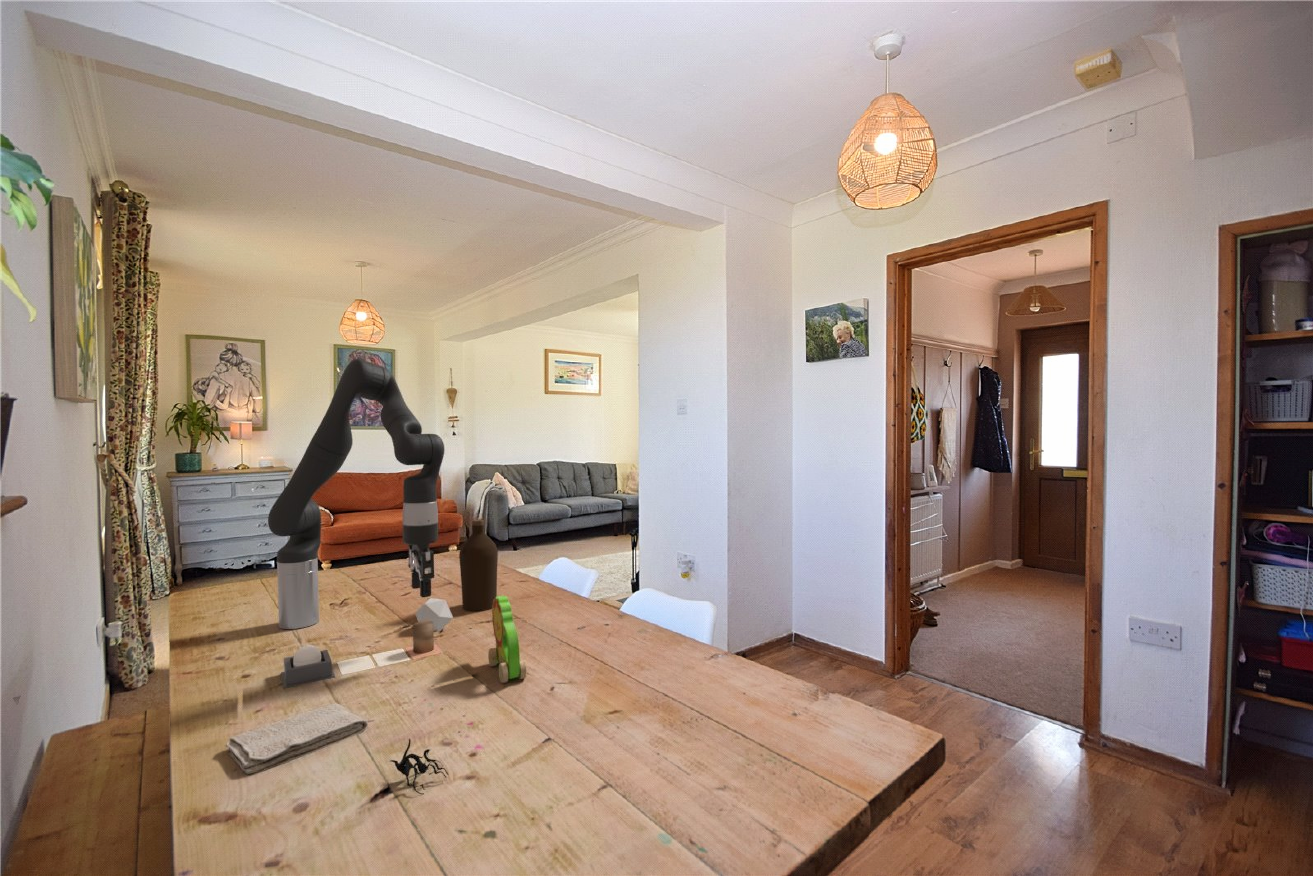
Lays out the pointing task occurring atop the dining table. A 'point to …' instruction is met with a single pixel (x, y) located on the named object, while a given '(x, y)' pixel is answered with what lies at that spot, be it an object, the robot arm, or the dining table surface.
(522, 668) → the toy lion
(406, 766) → the creature
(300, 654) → the dome
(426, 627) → the brown cylinder
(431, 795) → the dining table surface
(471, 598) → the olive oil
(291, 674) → the button base
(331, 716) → the washcloth
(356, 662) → the game board
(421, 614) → the die
